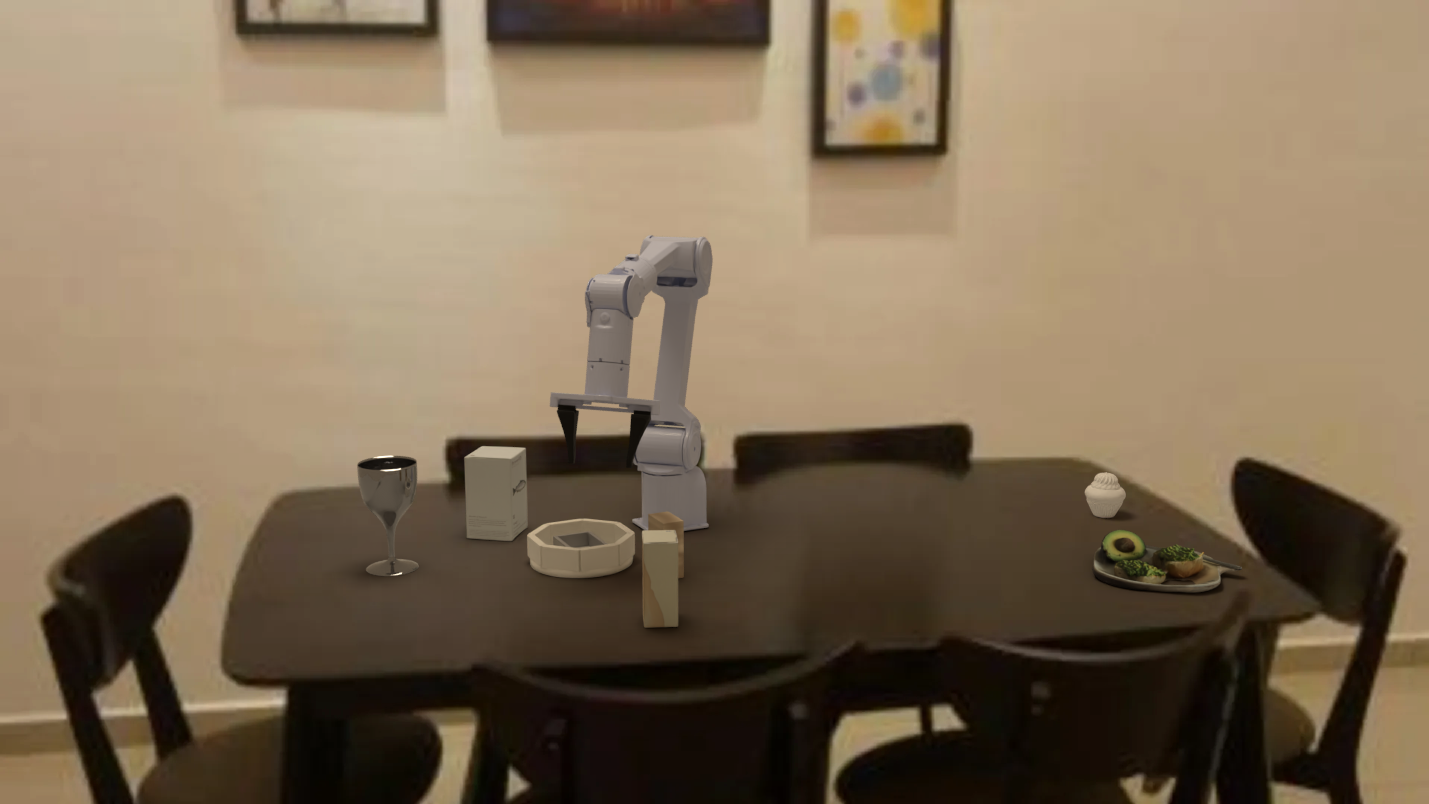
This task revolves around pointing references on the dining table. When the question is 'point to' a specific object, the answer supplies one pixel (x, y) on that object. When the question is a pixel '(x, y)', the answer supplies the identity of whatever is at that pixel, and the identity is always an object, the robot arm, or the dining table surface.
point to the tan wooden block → (670, 523)
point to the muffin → (1105, 495)
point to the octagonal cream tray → (581, 548)
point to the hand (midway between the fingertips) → (600, 465)
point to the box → (660, 578)
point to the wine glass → (388, 502)
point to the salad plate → (1154, 565)
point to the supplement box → (496, 493)
